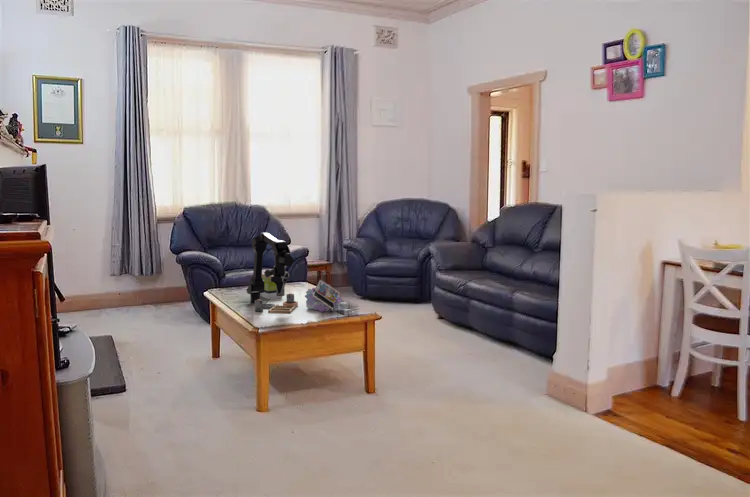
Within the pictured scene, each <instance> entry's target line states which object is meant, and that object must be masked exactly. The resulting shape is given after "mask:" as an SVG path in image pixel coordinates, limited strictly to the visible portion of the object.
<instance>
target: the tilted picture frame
mask: <svg viewBox="0 0 750 497" xmlns="http://www.w3.org/2000/svg"><path fill="white" fill-rule="evenodd" d="M305 293H306V294H305V295H304V297H305V298H306V301H305V304H306V306H305V307H306V308H307V309H308V310H311V311H312V310H315V311H317V312H318V311H319V312H321V313H324V312H326V311H330V310H332V311H334V309H338V308H339V307H340V306H341V303H342V298H341V296H340V294H341V293H340V291H338V290H336V289H335V288H334V287H332V286H331V284H328V283H326V281H324V280H322V279H320V280H319V281H318V283H317V285H316V286H315V287H314V286H313V287H312V288H308V289H307V290H306V292H305Z"/></svg>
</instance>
